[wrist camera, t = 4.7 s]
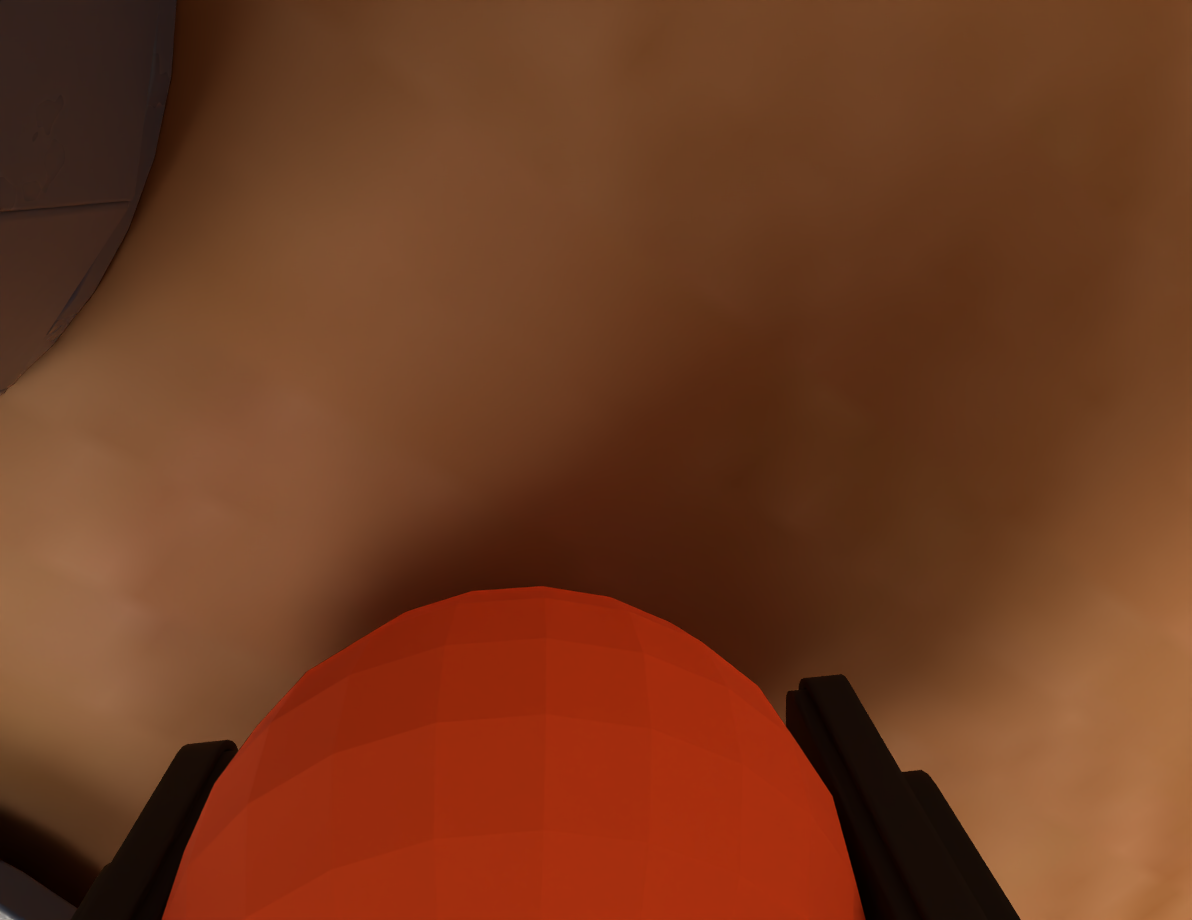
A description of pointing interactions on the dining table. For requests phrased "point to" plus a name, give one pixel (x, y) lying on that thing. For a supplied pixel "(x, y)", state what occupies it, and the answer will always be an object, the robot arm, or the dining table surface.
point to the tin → (71, 153)
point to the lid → (29, 898)
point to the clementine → (519, 781)
